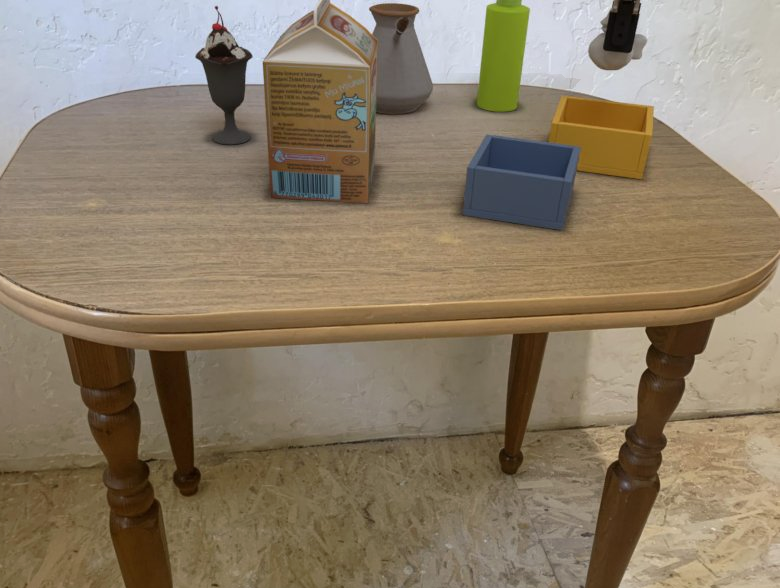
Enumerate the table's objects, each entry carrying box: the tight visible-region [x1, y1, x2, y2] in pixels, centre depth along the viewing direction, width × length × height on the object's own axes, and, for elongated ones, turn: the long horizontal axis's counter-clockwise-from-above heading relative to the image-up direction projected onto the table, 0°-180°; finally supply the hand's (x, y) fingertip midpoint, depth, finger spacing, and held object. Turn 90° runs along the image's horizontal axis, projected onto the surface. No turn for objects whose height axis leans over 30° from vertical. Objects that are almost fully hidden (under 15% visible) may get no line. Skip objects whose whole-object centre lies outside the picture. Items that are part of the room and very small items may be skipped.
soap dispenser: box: [476, 0, 531, 113], centre depth 107 cm, size 6×7×20 cm
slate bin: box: [462, 134, 581, 231], centre depth 83 cm, size 11×11×5 cm
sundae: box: [195, 5, 253, 146], centre depth 93 cm, size 7×7×15 cm
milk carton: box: [262, 0, 378, 204], centre depth 82 cm, size 11×11×19 cm
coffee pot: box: [368, 2, 434, 115], centre depth 102 cm, size 21×12×15 cm, turn 4°
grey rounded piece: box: [587, 4, 648, 71], centre depth 89 cm, size 5×7×8 cm
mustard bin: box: [547, 94, 655, 180], centre depth 96 cm, size 12×12×5 cm
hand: (618, 43), depth 89 cm, fingers closed on grey rounded piece, 5 cm apart
